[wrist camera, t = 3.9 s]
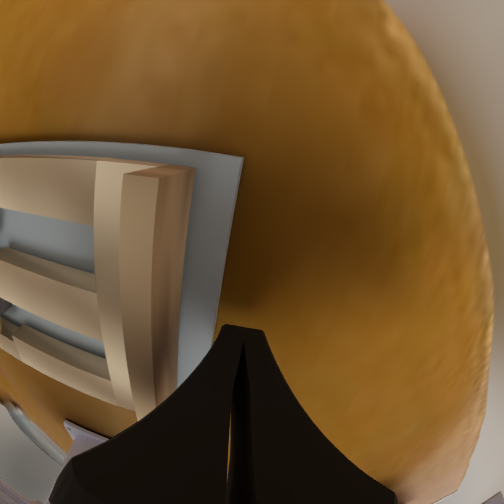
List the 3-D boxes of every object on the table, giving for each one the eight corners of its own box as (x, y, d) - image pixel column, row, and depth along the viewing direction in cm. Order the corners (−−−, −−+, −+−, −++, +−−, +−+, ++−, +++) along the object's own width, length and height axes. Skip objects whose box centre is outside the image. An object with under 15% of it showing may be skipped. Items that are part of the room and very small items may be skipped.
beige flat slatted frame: (176, 404, 12) (162, 455, 9) (-8, 326, 11) (-34, 351, 8) (196, 167, 8) (159, 178, 5) (-33, 157, 7) (-75, 168, 4)
